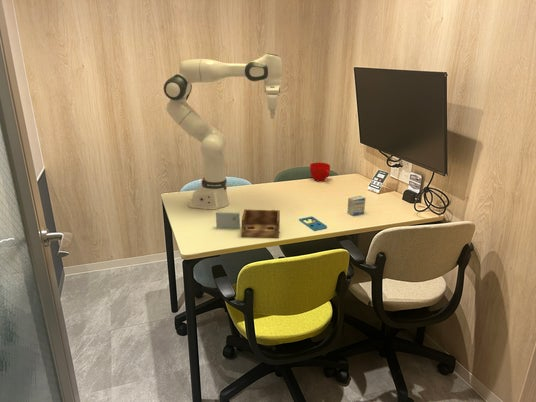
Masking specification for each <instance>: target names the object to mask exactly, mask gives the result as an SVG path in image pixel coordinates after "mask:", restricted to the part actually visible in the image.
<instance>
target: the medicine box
mask: <svg viewBox="0 0 536 402" xmlns="http://www.w3.org/2000/svg"><path fill="white" fill-rule="evenodd" d="M365 207H366V197H365V196H362V195H357V196H352V197H348V200H347V212H346V214H349V215H350V216H352V217H353V216H358V215H362V214H364V213H365V209H366V208H365Z"/></svg>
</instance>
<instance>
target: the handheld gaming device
mask: <svg viewBox="0 0 536 402" xmlns="http://www.w3.org/2000/svg"><path fill="white" fill-rule="evenodd" d="M309 220H311V222H309ZM298 221H299V222H300V223H302V224H303V225H305V226H306V227H308V228H309V229H311V230H312V231H313V232H318V231H322V230H327V228H328V226H327V225H326V224H325V223H324V222H321V221H320V220H318V219H317V218H315V216H307V217H302V218H298ZM305 221H306V222H305ZM307 222H308V223H307Z"/></svg>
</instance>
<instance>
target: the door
mask: <svg viewBox="0 0 536 402" xmlns="http://www.w3.org/2000/svg"><path fill="white" fill-rule="evenodd" d="M240 220H241V219H240V211H216V212H215V223H216V224H215V225H216V229H229V230H231V229H233V230H235V229H236V230H240V228H241V227H240V225H241V222H240Z"/></svg>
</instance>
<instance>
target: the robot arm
mask: <svg viewBox="0 0 536 402" xmlns="http://www.w3.org/2000/svg"><path fill="white" fill-rule="evenodd" d="M282 75H283V62H282V58H281V56H279V55H278V54H275V53H269V52H268V53H265V54H264V55H262V56H261V57H259V58H256V59H254V60H251V61H249V62H246V63H227V62H222V61H220V60H214V59H210V58H209V59H207V58H192V59H186V60H183V61H182V62H181V63H180V64H179V71H178V73H176V74H175V75H173V76H171V77H170V78H168V79H167V80H166V81H165V83H164V84H163V92H164V94H165V96H166V97H167V98H168V99H170V100H169V101H168V103H167V104H166V111H167V113H168V115H169V116H170V117H171V118H172V120H173V121H174V122H175V123H176V124H177V125H178V126H179V127H180V128H181V129H182V130H183V131H184V132H185V133H186V134H187V135H188V136H190V138H191V137H192V138H193V139H196V140H197V141H199V143H201V144H200V151H201V156H202V160H203V167H204V168H203V169H204V177H202V178H201V186H199V187H198V188H197V189H195V191H193V193H192V197H191V199H189V201H188V203H187V206H188V208H190V209H191V208H193V209H200V210H201V209H202V210H203V209H204V210H211V211H215V210H218V209H221V208H225V207H228V206H229V205H230V199H229V197H228V191H227V189H228V181H227V178H226V163H225V159H224V149H225V147H226V144H227V143H226V142H227V139H226V136H225V134H224V133H223V132H222V131H219V130H218V129H217V128H216V127H214V126H213V125H212V124H210V123H209V122H208V121H206V120H205V119H204V118H203V117H202V116H201V115H200V114H199V113H198V112H197V111H196V110H194V108H192V107H191V106H190V105H189V103H188V102H187V101H188V99H189V97H190V94H191V93H192V88H193V86H192V84H194V83H213V82H217V81H220V80H223V79H226V78H230V77H235V78H236V77H244V78H245V77H246V79H248V80H249V81H251V82H254V83H255V82H258V81H259V82H260V81H263V92H264V93H265V94H266V99H267V100H266V102H267V103H266V104H267V109H268V110H269V114H270V117H269V118H270V119H272V120H273V119H275V115H276V110H277V105H278V97H279V96H280V93H282V92H283V81H282Z"/></svg>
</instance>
